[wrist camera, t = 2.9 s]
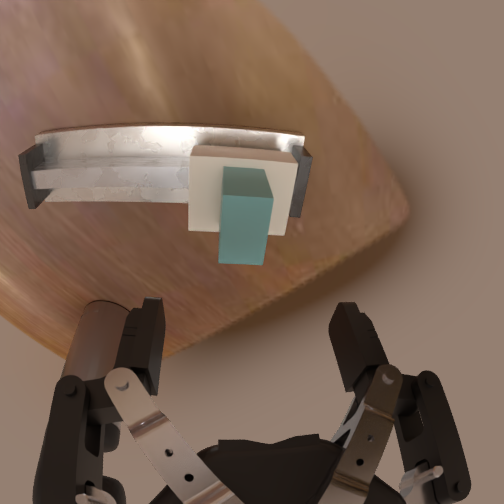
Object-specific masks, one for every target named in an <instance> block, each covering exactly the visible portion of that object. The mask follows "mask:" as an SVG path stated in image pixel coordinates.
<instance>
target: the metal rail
mask: <svg viewBox="0 0 504 504" xmlns="http://www.w3.org/2000/svg"><path fill="white" fill-rule="evenodd" d="M304 138H305V136H304V135H303V134H302V133H298V132H291V131H283V130H275V129H266V128H256V127H244V126H232V125H215V124H191V123H137V124H114V125H98V126H86V127H76V128H66V129H58V130H50V131H43V132H40V133H39V134H37V135H35V141H36V144H35V145H34V146H32V147H31V148H29V149H27V150H26V151H24V152H23V153H21V154H20V155H18V157H19V163H20V169H21V175H22V180H23V185H24V190H25V195H26V199H27V203H28V208H29V209H36V208H37V207H38V206H39V205H40V204H41V203H42V202H43V201H44V200H45V202H60V201H126V202H168V203H189V162H190V154H191V151H192V148H193V146H194V145H209V146H227V147H241V148H253V149H264V150H274V151H283V152H291V154H292V155H293V157H294V158H295V160H296V161H297V163H298V169H297V174H296V179H295V184H294V190H293V195H292V200H291V205H290V210H289V216H290V217H299V218H300V215H301V210H302V206H303V201H304V196H305V192H306V187H307V182H308V178H309V173H310V168H311V163H312V158H313V157H312V156H311V155H310V154H309V153H308V151H307V150H306V149H305V148H304V147H303V144H304Z"/></svg>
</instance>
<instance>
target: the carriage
mask: <svg viewBox="0 0 504 504" xmlns="http://www.w3.org/2000/svg"><path fill="white" fill-rule="evenodd" d="M297 169H298V163H297V161H296V160H295V158H294V157H293V155H292V154H291V152H283V151H274V150H264V149H253V148H241V147H227V146H209V145H194V146H193V148H192V151H191V154H190V162H189V207H188V231H208V232H219V258H218V263H227V264H251V265H263V260H264V255H265V249H266V243H267V237H268V235H285V230H286V225H287V220H288V215H289V210H290V205H291V200H292V195H293V190H294V184H295V179H296V174H297Z"/></svg>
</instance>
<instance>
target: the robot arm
mask: <svg viewBox="0 0 504 504" xmlns="http://www.w3.org/2000/svg"><path fill="white" fill-rule="evenodd" d="M165 326H166V325H165V315H164V308H163V301H162V298H156V297H145V298H144V302H143V306H142V308H133V309H132V310H131V312H128V311H127V310H126V309H124V308H123V307H121V306H119V305H116V304H114V303H110V302H106V301H96V302H92V303H90V304H88V305H87V306H86V308H85V310H84V312H83V315H82V316H81V320H80V322H79V325H78V328H77V330H76V333H75V335H74V338H73V341H72V344H71V347H70V350H69V353H68V356H67V359H66V362H65V365H64V368H63V371H62V374H61V378H60V380H59V381H58V382H57V384H56V387H55V392H54V396H53V401H52V406H51V411H50V417H49V422H48V425H47V428H46V432H45V436H44V441H43V445H42V450H41V453H40V458H39V462H38V466H37V471H36V475H35V480H34V486H33V504H126V496H125V491H124V488H123V486H122V484H121V483H120V482H119V481H118V480H116V479H113V478H110V477H107V476H103V475H102V474H103V452H110V451H113V450H115V449H116V448H117V446H118V444H119V437H120V428H121V421H124V422H125V424H126V425H127V427H128V428H129V430H130V432H131V434H132V436H133V437H134V439H135V440H136V442H137V443H138V445H139V446H140V448H141V449H142V451H143V452H144V454H145V455H146V457H147V458H148V459H149V461H150V462H151V463H152V465H153V466H154V468H155V469H156V470H157V471H158V473H159V474H160V476H161V477H162V478H163V479H164V481H165V482H166V483H167V485H166V486H165V488H164V489H163V490H162V491H161V492H160V493H159V494H158V495H157V496H156V497H155V498H154V499H153V500H152V501H151V502H150V503H149V504H452V503H455V502H458V501H461V500H463V499H465V498H466V497H467V495H468V494H469V492H470V489H471V480H470V475H469V471H468V467H467V463H466V459H465V456H464V452H463V448H462V445H461V441H460V438H459V434H458V431H457V428H456V425H455V422H454V419H453V416H452V413H451V410H450V407H449V404H448V401H447V398H446V396H445V393H444V390H443V387H442V385H441V382H440V380H439V378H438V377H437V375H436V374H435V373H433V372H431V371H422V372H421V373H420V374H419V375H418V376H411V375H404V374H401V372H400V371H399V369H398V368H396V367H395V366H393V365H391V364H389V362H388V359H387V357H386V354H385V352H384V350H383V347H382V345H381V342H380V340H379V338H378V335H377V333H376V331H375V328H374V326H373V324H372V321H371V320H370V319H369V318H368V317H367V315H366V314H365V313H360V312H359V309H358V307H357V305H356V303H355V302H340V303H338V305H337V307H336V310H335V312H334V314H333V316H332V319H331V321H330V323H329V336H330V340H331V343H332V346H333V350H334V353H335V356H336V359H337V362H338V366H339V370H340V373H341V377H342V380H343V384H344V387H345V391H346V392H352V391H354V393H355V397H354V398H353V400H352V402H351V405H350V407H349V409H348V411H347V413H346V415H345V417H344V419H343V421H342V423H341V425H340V427H339V429H338V430H337V432H336V433H335V435H334V436H333V437H332V439H331V441H328V440H323V439H320V438H319V434H312V435H304V436H295V437H292V438H289V439H286V440H283V441H280V442H277V443H274V444H265V443H259V442H254V441H249V440H218V445H214V446H211V447H208V448H205V449H203V450H201V451H200V452H198V453H197V454H196V453H195V452H194V451H193V450H192V449H191V447H190V446H189V445H188V444H187V442H186V441H185V440H184V439H183V437H182V436H181V435H180V434H179V432H178V431H177V430H176V428H175V427H174V426H173V424H172V423H171V422H170V421H169V419H168V418H167V417H166V416H165V415H164V414H163V413H162V412H161V411H160V410H159V408H158V407H157V406H156V404H155V403H154V401H153V400H152V398H151V395H156V396H157V394H158V385H159V375H160V367H161V360H162V352H163V345H164V337H165ZM419 412H420V413H419ZM420 415H421V416H420ZM421 419H422V420H421ZM422 422H423V423H422ZM393 426H395V430H396V434H397V439H398V443H399V447H400V451H401V456H402V460H403V465H404V470H405V474H404V475H403V477H402V479H401V483H400V484H399V489H400V493H398V492H397V491H395V490H394V489H393V488H392V487H390V486H389V485H388V484H386V483H385V482H384V481H382V480H381V479H380V478H379V477H377V476H376V475H375V471H376V469H377V467H378V464H379V462H380V460H381V457H382V455H383V452H384V450H385V447H386V445H387V442H388V439H389V437H390V434H391V431H392V428H393ZM423 426H424V427H423Z"/></svg>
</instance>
